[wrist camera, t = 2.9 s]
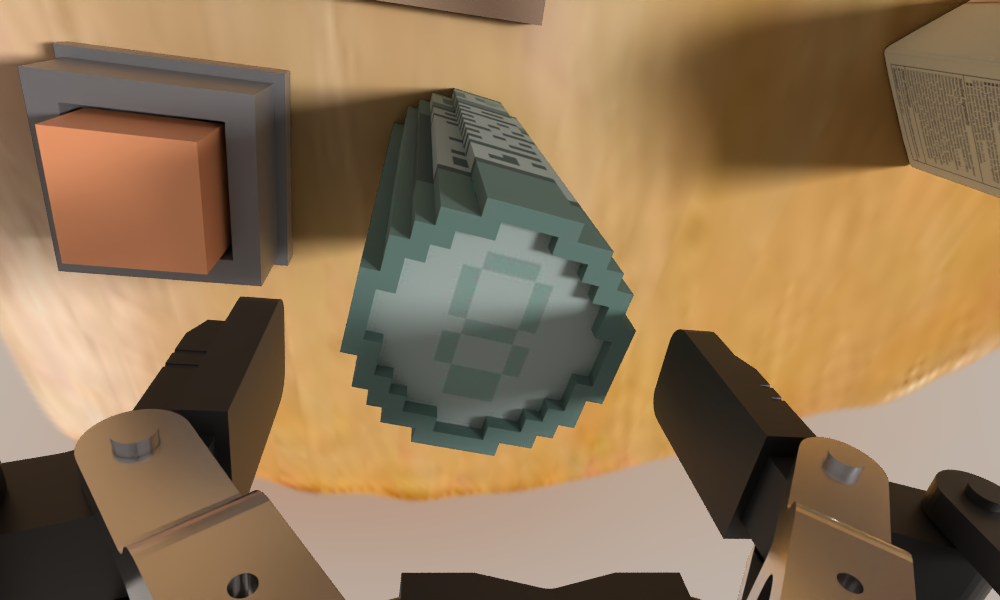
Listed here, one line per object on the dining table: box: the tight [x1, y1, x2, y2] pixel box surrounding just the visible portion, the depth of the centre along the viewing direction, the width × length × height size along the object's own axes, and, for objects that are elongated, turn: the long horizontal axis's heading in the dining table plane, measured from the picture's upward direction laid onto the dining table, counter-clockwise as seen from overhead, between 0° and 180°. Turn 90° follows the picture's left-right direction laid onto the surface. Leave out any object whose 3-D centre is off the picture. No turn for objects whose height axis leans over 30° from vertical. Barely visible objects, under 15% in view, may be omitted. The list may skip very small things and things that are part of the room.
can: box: [340, 88, 636, 456], centre depth 20 cm, size 6×6×15 cm
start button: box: [35, 108, 232, 274], centre depth 21 cm, size 5×5×3 cm
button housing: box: [18, 42, 292, 286], centre depth 23 cm, size 8×8×4 cm
